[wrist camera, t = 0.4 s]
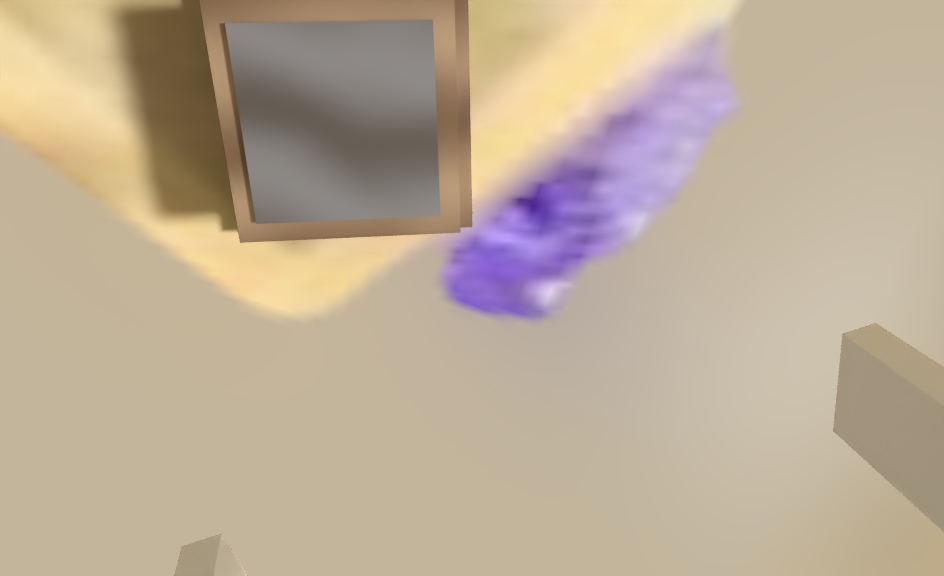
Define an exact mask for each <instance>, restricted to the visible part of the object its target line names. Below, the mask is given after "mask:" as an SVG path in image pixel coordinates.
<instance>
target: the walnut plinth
mask: <svg viewBox="0 0 944 576" xmlns="http://www.w3.org/2000/svg"><path fill="white" fill-rule="evenodd" d="M199 2H200V8H201V14H202V20H203V26H204V32H205V38H206V44H207V50H208V56H209V62H210V68H211V73H212V79H213V85H214V91H215V97H216V103H217V109H218V115H219V121H220V127H221V133H222V139H223V145H224V151H225V156H226V162H227V168H228V174H229V180H230V186H231V192H232V198H233V204H234V210H235V216H236V222H237V228H238V234H239V239H240V243H242V242H264V241H285V240H307V239H329V238H350V237H372V236H394V235H416V234H437V233H459V232H460V228H461V227H472V189H471V134H470V79H469V24H468V0H199Z"/></svg>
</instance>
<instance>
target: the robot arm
mask: <svg viewBox="0 0 944 576" xmlns="http://www.w3.org/2000/svg"><path fill="white" fill-rule="evenodd" d="M833 431H834V432H835V433H836V434H837V435H838V436H839V437H840V438H842V439H843V440H844V441H845V442H846V443H847V444H848V445H849V446H850V447H851V448H852V449H854V450H855V451H856V452H857V453H858V454H859V455H860V456H861V457H862V458H863V459H865V460H866V461H867V462H868V463H869V464H870V465H871V466H872V467H873V468H874V469H875V470H877V471H878V472H879V473H880V474H881V475H882V476H883V477H884V478H885V479H886V480H888V481H889V482H890V483H891V484H892V485H893V486H894V487H895V488H896V489H897V490H898V491H900V492H901V493H902V494H903V495H904V496H905V497H906V498H907V499H908V500H909V501H911V502H912V503H913V504H914V505H915V506H916V507H917V508H918V509H919V510H920V511H921V512H923V513H924V514H925V515H926V516H927V517H928V518H929V519H930V520H932V522H934V523H935V524H936V525H937V526H938V527H939V528H940V529H941V530H942V531H943V532H944V367H943V366H941V365H940V364H938V363H936V362H935V361H934V360H932V359H930V358H929V357H927V356H926V355H924V354H923V353H921V352H920V351H918V350H916V349H915V348H913V347H912V346H910V345H909V344H907V343H906V342H904V341H903V340H901V339H900V338H898V337H896V336H895V335H893V334H892V333H890V332H889V331H887V330H885V329H884V328H882V327H881V326H879V325H878V324H876V323H875V324H872V325H869V326H866V327H863V328H860V329H856V330H853V331H850V332H847V333H844V334H842V345H841V355H840V366H839V376H838V387H837V398H836V407H835V418H834V429H833ZM174 576H248V575H247V573H246V572H245V570H244V569H243V567H242V566H241V564H240V563H239V561H238V560H237V558H236V556H235V555H234V553H233V552H232V550H231V548H230V547H229V545H228V544H227V542H226V541H225V539H224V537H223V536H222V534H219V535H216V536H213V537H210V538H207V539H204V540H201V541H197V542H194V543H192V544H188V545H185V546H182V548H181V551H180V556H179V559H178V563H177V567H176V571H175V575H174Z"/></svg>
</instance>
